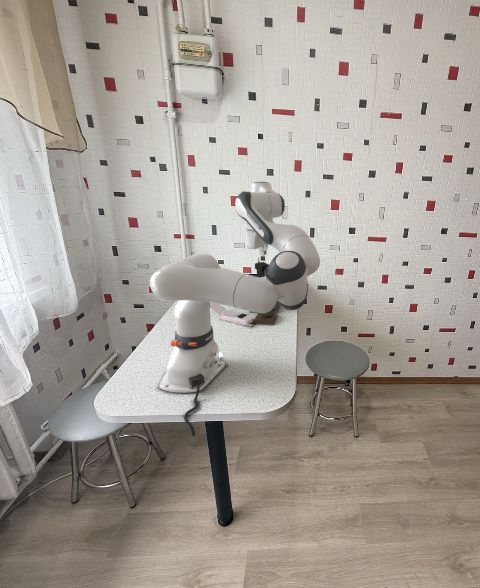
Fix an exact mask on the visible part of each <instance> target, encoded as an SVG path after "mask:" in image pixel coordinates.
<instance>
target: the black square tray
mask: <svg viewBox="0 0 480 588" xmlns="http://www.w3.org/2000/svg"><path fill="white" fill-rule="evenodd" d="M279 307H280V305H279V303H278V302H277V303H276V305H275V306H274V308H273V309H272V311H276V312H277V311H278V309H279ZM249 312H250V313H254V314H255V313H256V314H258V312H251V311H249Z"/></svg>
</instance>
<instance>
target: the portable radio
mask: <svg viewBox="0 0 480 588" xmlns="http://www.w3.org/2000/svg"><path fill="white" fill-rule="evenodd" d="M257 260H258V261H257V262H255V263H254V270H256V277H265V269H266V267H268V266H269V265H270V263H266V262H264V261H260V257H257ZM266 273H267V271H266Z"/></svg>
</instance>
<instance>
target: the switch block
mask: <svg viewBox="0 0 480 588" xmlns="http://www.w3.org/2000/svg"><path fill="white" fill-rule="evenodd" d="M276 317H277V311H272V310H271V311H269V313H267V314H263V313H256V316H255V317H254V321H253V322H254V325H267V326H273V324H274V322H275V319H276Z"/></svg>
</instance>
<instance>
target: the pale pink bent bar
mask: <svg viewBox="0 0 480 588" xmlns="http://www.w3.org/2000/svg"><path fill="white" fill-rule="evenodd" d="M210 310H212V311H213V312H214V313H215V314H217V315H218V316H219V318H220V320H223V321H225V322H230V323H234V324H237V325H241V326H247V327H253V326H254V325H253V324H252V323H253V322H254V319H255V317H254V316H253V315H250V314H248V313H243V312H242V313H241V312H237V311H233V310H229V309H226V308H225V307H224V305H222V304H219V303H215V302H210Z"/></svg>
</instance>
